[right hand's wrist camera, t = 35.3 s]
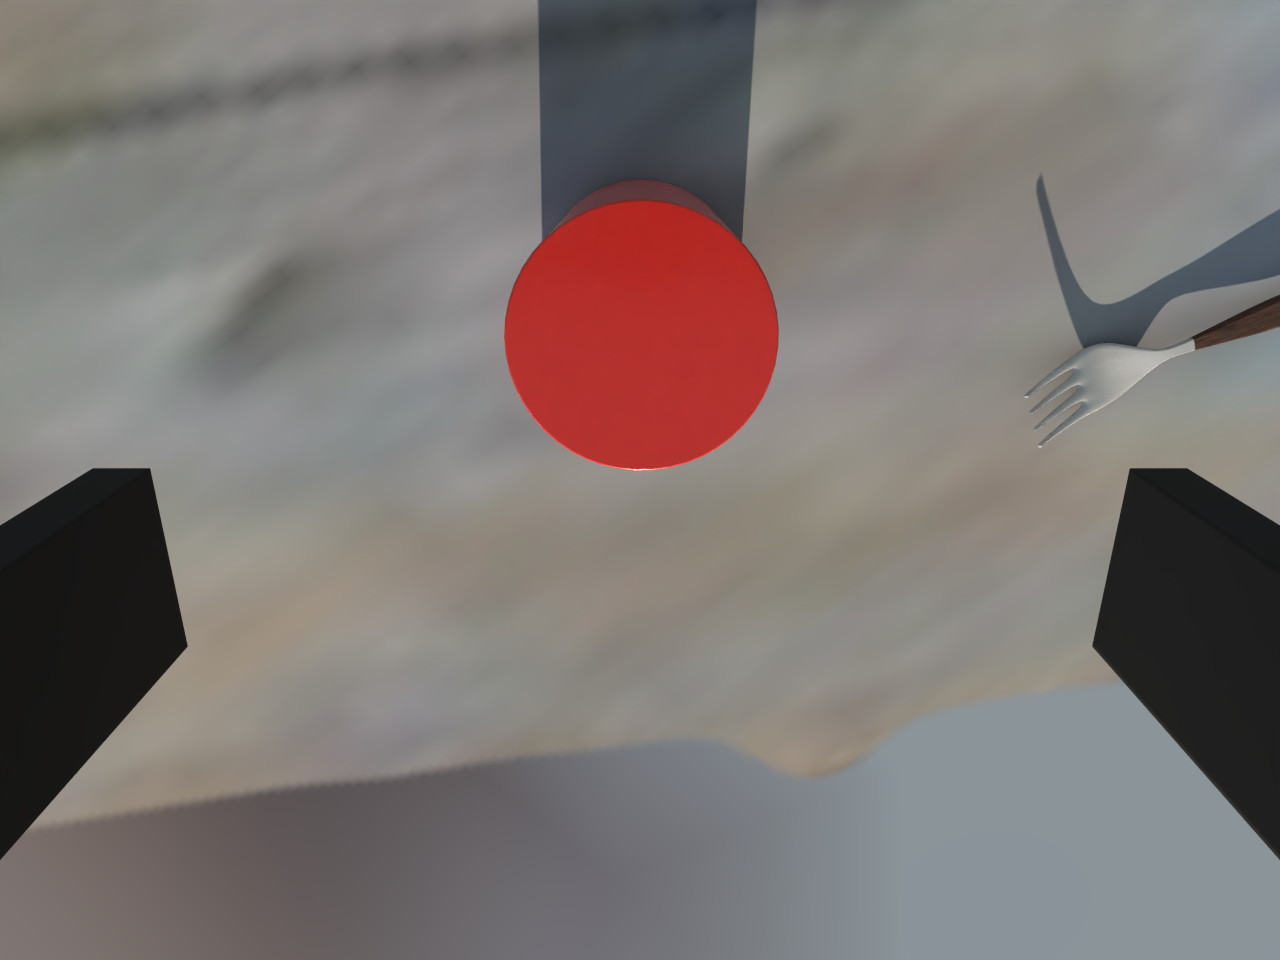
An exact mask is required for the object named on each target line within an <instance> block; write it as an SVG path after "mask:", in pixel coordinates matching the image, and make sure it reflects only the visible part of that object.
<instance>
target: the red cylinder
mask: <svg viewBox="0 0 1280 960" xmlns="http://www.w3.org/2000/svg"><path fill="white" fill-rule="evenodd" d="M778 333H779V329H778V319H777V311H776V307H775V302H774V298H773V294H772V292H771V289H770V287H769V284H768V281H767V279H766V277H765V275H764V273H763V271H762V269H761V268H760V266H759V264H758V262H757V261H756V259H755V258H754V257H753V255H752V254H751V253H750V251H749V250H748V249H747V247H746V246H745V245H744V244H743V243H742V242H741V241H740V240H739V239H738V237H737V236H736V235H735V234H734V233H733V232H732V231H731V230H730V229H729V228H728V227H727V225H726V224H725V223H724V222H723V221H722V220H721V219H720V218H719V217H718V216H717V215H716V214H715V212H714V211H713V210H712V209H711V208H710V207H709V206H708V205H707V204H705V203H704V202H703V201H702V200H700V199H699V198H698V197H696V196H695V195H693V194H691V193H690V192H688V191H686V190H685V189H682V188H680V187H677V186H675V185H672V184H669V183H665V182H661V181H656V180H646V179H640V180H627V181H621V182H617V183H613V184H610V185H607V186H604V187H602V188H600V189H598V190H596V191H594V192H592V193H591V194H589V195H588V196H586V197H585V198H583V199H582V200H580V201H579V202H578V203H577V204H576V205H575V206H574V207H572V208H571V210H570V211H569V212H568V213H567V214H566V215H565V216H564V217H563V219H562V220H561V221H560V222H559V223H558V224H557V225H556V226H555V228H554V229H553V230H552V231H551V232H550V233H549V234H548V235H547V237H546V238H545V239H544V240H543V241H542V242H541V243H540V244H539V246H538V247H537V248H536V249H535V250H534V251H533V252H532V254H531V255H530V257H529V258H528V260H527V261H526V263H525V264H524V266H523V267H522V269H521V271H520V273H519V275H518V277H517V279H516V282H515V284H514V286H513V289H512V292H511V295H510V298H509V302H508V307H507V312H506V318H505V334H504V339H505V351H506V358H507V362H508V367H509V372H510V375H511V377H512V380H513V383H514V386H515V388H516V390H517V392H518V394H519V396H520V398H521V400H522V402H523V404H524V405H525V407H526V408H527V410H528V411H529V413H530V414H531V416H532V417H533V418H534V419H535V421H536V422H537V423H538V424H539V425H540V426H541V427H542V428H543V430H544V431H545V432H547V433H548V434H549V435H550V436H551V437H552V438H553V439H555V440H556V441H557V442H558V443H560V444H561V445H563V446H564V447H566V448H567V449H569V450H570V451H572V452H574V453H576V454H578V455H580V456H582V457H584V458H586V459H588V460H591V461H593V462H596V463H599V464H602V465H605V466H610V467H614V468H619V469H628V470H656V469H663V468H669V467H673V466H677V465H681V464H684V463H687V462H690V461H692V460H695V459H697V458H699V457H702V456H704V455H705V454H707V453H709V452H711V451H712V450H714V449H716V448H718V447H719V446H720V445H722V444H723V443H724V442H726V441H727V440H728V439H730V438H731V437H732V436H733V435H734V434H735V433H736V432H737V431H738V430H739V429H740V428H741V427H742V426H743V425H744V424H745V423H746V422H747V420H748V419H749V418H750V417H751V415H752V414H753V413H754V411H755V410H756V408H757V407H758V405H759V403H760V402H761V400H762V398H763V397H764V394H765V392H766V390H767V388H768V385H769V383H770V381H771V377H772V374H773V371H774V367H775V363H776V357H777V351H778Z"/></svg>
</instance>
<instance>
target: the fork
mask: <svg viewBox="0 0 1280 960" xmlns="http://www.w3.org/2000/svg"><path fill="white" fill-rule="evenodd" d="M1278 327H1280V295H1278V296H1276V297H1273V298H1271V299H1269V300H1267V301H1264V302H1262V303H1260V304H1258V305H1256V306H1254V307H1251V308H1249V309H1247V310H1245V311H1243V312H1241V313H1239V314H1237V315H1235V316H1233V317H1231V318H1229V319H1227V320H1225V321H1223V322H1221V323H1219V324H1217V325H1215V326H1213V327H1211V328H1209V329H1207V330H1205V331H1203V332H1201V333H1199V334H1197V335H1195V336H1193V337H1191V338H1189V339H1187V340H1185V341H1182V342H1180V343H1178V344H1176V345H1173V346H1171V347H1167V348H1163V349H1146V348H1140V347H1134V346H1129V345H1123V344H1115V343H1101V344H1095V345H1092V346H1089V347H1087V348H1085V349H1083V350H1081V351H1079V352H1078V353H1076V354H1075V355H1074V356H1072V357H1071V358H1070V359H1068V360H1067V361H1065V362H1064V363H1063V364H1061V365H1060V366H1059V367H1057V368H1056V369H1055V370H1054V371H1052V372H1051V373H1050V374H1049V375H1047V376H1046V377H1045V378H1044V379H1043V380H1041V381H1040V382H1039V383H1038V384H1037V385H1036V386H1034V387H1033V388H1032V389H1031V390H1030V391H1029V392H1027V393H1026V394H1025V395H1024V397H1025V398H1027V397H1029V396H1030V395H1031V394H1032V393H1034V392H1035V391H1037V390H1038V389H1040V388H1041V387H1043V386H1044V385H1046V384H1047V383H1049V382H1050V381H1052V380H1053V379H1055V378H1056V377H1058V376H1060V375H1061V374H1063V373H1064V372H1066V371H1068V370H1073V374H1072V375H1071V376H1070V377H1069V378H1068V379H1067V380H1066V381H1065V382H1064V383H1062V384H1061V385H1060V386H1059V387H1057V388H1056V389H1055V390H1054V391H1052V392H1051V393H1050V394H1049V395H1048V396H1047V397H1045V398H1044V399H1043V400H1042V401H1041V402H1040V403H1038V404H1037V405H1036V406H1035V407H1034V408H1033V409H1032V410H1031V411H1030V412H1029V414H1032V413H1034V412H1035V411H1037V410H1038V409H1039V408H1041V407H1042V406H1044V405H1045V404H1046V403H1048V402H1049V401H1051V400H1052V399H1054V398H1055V397H1057V396H1058V395H1060V394H1062V393H1063V392H1065V391H1066V390H1068V389H1070V388H1071V387H1074V386H1077V390H1076V392H1075V393H1074V394H1073V395H1072V396H1071V397H1069V398H1068V399H1067V400H1066V401H1064V402H1063V403H1062V404H1061V405H1060V406H1058V407H1057V408H1056V409H1055V410H1054V411H1052V412H1051V413H1050V414H1049V415H1048V416H1047V417H1046V418H1044V419H1043V420H1042V421H1041V422H1040V423H1039V424H1038V425H1037V426H1036V427H1035V428H1034V429H1033V430H1038V429H1039V428H1040V427H1042V426H1043V425H1044V424H1046V423H1047V422H1049V421H1050V420H1051V419H1053V418H1054V417H1056V416H1057V415H1059V414H1060V413H1062V412H1063V411H1065V410H1066V409H1068V408H1069V407H1071V406H1072V405H1074V404H1076V403H1079V402H1081V407H1080V408H1079V409H1078V410H1077V411H1076V412H1075V413H1074V414H1072V415H1071V416H1070V417H1069V418H1068V419H1066V420H1065V421H1064V422H1063V423H1062V424H1060V425H1059V426H1058V427H1057V428H1056V429H1055V430H1054V431H1052V432H1051V433H1050V434H1049V435H1048V436H1047V437H1046V438H1045V439H1044V440H1042V441H1041V442H1040V443H1039V444H1038V447H1042V446H1043V445H1044V444H1045V443H1046V442H1048V441H1049V440H1050V439H1052V438H1053V437H1055V436H1056V435H1057V434H1059V433H1060V432H1062V431H1063V430H1065V429H1066V428H1067V427H1069V426H1070V425H1072V424H1073V423H1075V422H1076V421H1078V420H1080V419H1081V418H1083V417H1085V416H1087V415H1089V414H1091V413H1093V412H1094V411H1096V410H1098V409H1100V408H1102V407H1104V406H1106V405H1107V404H1109V403H1110V402H1112V401H1113V400H1115V399H1116V398H1118V397H1119V396H1120V395H1122V394H1123V393H1124V392H1125V391H1127V390H1128V389H1129V388H1130V387H1132V386H1133V385H1134V384H1135V383H1136V382H1137V381H1139V380H1140V379H1141V378H1142V377H1143V376H1145V375H1146V374H1147V373H1148V372H1149V371H1151V370H1152V369H1153V368H1155V367H1156V366H1157V365H1159V364H1160V363H1162V362H1164V361H1166V360H1168V359H1170V358H1172V357H1174V356H1177V355H1180V354H1183V353H1187V352H1190V351H1194V350H1197V349H1201V348H1205V347H1209V346H1212V345H1216V344H1220V343H1224V342H1228V341H1232V340H1235V339H1239V338H1243V337H1247V336H1250V335H1254V334H1258V333H1261V332H1265V331H1268V330H1272V329H1275V328H1278Z"/></svg>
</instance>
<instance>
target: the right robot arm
mask: <svg viewBox="0 0 1280 960" xmlns="http://www.w3.org/2000/svg"><path fill="white" fill-rule="evenodd" d="M187 647H188V646H187V641H186V636H185V631H184V627H183V622H182V617H181V612H180V608H179V603H178V598H177V594H176V589H175V584H174V579H173V575H172V570H171V565H170V560H169V556H168V551H167V546H166V542H165V537H164V532H163V527H162V523H161V518H160V513H159V508H158V504H157V499H156V494H155V490H154V485H153V480H152V475H151V471H150V468H93V469H91V470H90V471H88V472H86V473H85V474H83V475H81V476H80V477H78V478H77V479H75V480H73V481H72V482H70V483H68V484H67V485H65V486H64V487H62V488H60V489H59V490H57V491H55V492H54V493H52V494H51V495H49V496H47V497H46V498H44V499H42V500H41V501H39V502H38V503H36V504H34V505H33V506H31V507H29V508H28V509H26V510H25V511H23V512H21V513H20V514H18V515H16V516H15V517H13V518H12V519H10V520H8V521H7V522H5V523H3V524H2V525H0V860H1V858H2V857H3V856H4V855H5V854H6V853H7V852H8V850H9V849H10V848H11V847H12V846H13V845H14V844H15V842H16V841H17V840H18V839H19V838H20V837H21V836H22V834H23V833H24V832H25V831H26V830H27V829H28V828H29V827H30V825H31V824H32V823H33V822H34V821H35V820H36V819H37V817H38V816H39V815H40V814H41V813H42V812H43V811H44V809H45V808H46V807H47V806H48V805H49V804H50V803H51V801H52V800H53V799H54V798H55V797H56V796H57V795H58V794H59V792H60V791H61V790H62V789H63V788H64V787H65V786H66V784H67V783H68V782H69V781H70V780H71V779H72V778H73V776H74V775H75V774H76V773H77V772H78V771H79V770H80V768H81V767H82V766H83V765H84V764H85V763H86V762H87V760H88V759H89V758H90V757H91V756H92V755H93V754H94V753H95V751H96V750H97V749H98V748H99V747H100V746H101V745H102V743H103V742H104V741H105V740H106V739H107V738H108V737H109V735H110V734H111V733H112V732H113V731H114V730H115V729H116V727H117V726H118V725H119V724H120V723H121V722H122V721H123V720H124V718H125V717H126V716H127V715H128V714H129V713H130V712H131V710H132V709H133V708H134V707H135V706H136V705H137V704H138V702H139V701H140V700H141V699H142V698H143V697H144V696H145V694H146V693H147V692H148V691H149V690H150V689H151V688H152V686H153V685H154V684H155V683H156V682H157V681H158V680H159V679H160V677H161V676H162V675H163V674H164V673H165V672H166V671H167V669H168V668H169V667H170V666H171V665H172V664H173V663H174V661H175V660H176V659H177V658H178V657H179V656H180V655H181V653H182V652H183V651H184V650H185V649H186V648H187ZM1092 647H1093V648H1094V649H1095V650H1096V651H1097V652H1098V653H1099V655H1100V656H1101V657H1102V658H1103V659H1104V660H1105V661H1106V663H1107V664H1108V665H1109V666H1110V667H1111V668H1112V669H1113V671H1114V672H1115V673H1116V674H1117V675H1118V676H1119V677H1120V679H1121V680H1122V681H1123V682H1124V683H1125V684H1126V685H1127V686H1128V688H1129V689H1130V690H1131V691H1132V692H1133V693H1134V694H1135V696H1136V697H1137V698H1138V699H1139V700H1140V701H1141V702H1142V704H1143V705H1144V706H1145V707H1146V708H1147V709H1148V710H1149V712H1150V713H1151V714H1152V715H1153V716H1154V717H1155V718H1156V719H1157V721H1158V722H1159V723H1160V724H1161V725H1162V726H1163V727H1164V729H1165V730H1166V731H1167V732H1168V733H1169V734H1170V735H1171V737H1172V738H1173V739H1174V740H1175V741H1176V742H1177V743H1178V744H1179V746H1180V747H1181V748H1182V749H1183V750H1184V751H1185V753H1186V754H1187V755H1188V756H1189V757H1190V758H1191V759H1192V760H1193V762H1194V763H1195V764H1196V765H1197V766H1198V767H1199V768H1200V770H1201V771H1202V772H1203V773H1204V774H1205V775H1206V776H1207V778H1208V779H1209V780H1210V781H1211V782H1212V783H1213V784H1214V785H1215V787H1216V788H1217V789H1218V790H1219V791H1220V792H1221V794H1222V795H1223V796H1224V797H1225V798H1226V799H1227V800H1228V801H1229V803H1230V804H1231V805H1232V806H1233V807H1234V808H1235V809H1236V811H1237V812H1238V813H1239V814H1240V815H1241V816H1242V817H1243V819H1244V820H1245V821H1246V822H1247V823H1248V824H1249V825H1250V826H1251V828H1252V829H1253V830H1254V831H1255V832H1256V833H1257V834H1258V836H1259V837H1260V838H1261V839H1262V840H1263V841H1264V842H1265V844H1266V845H1267V846H1268V847H1269V848H1270V849H1271V850H1272V852H1273V853H1274V854H1275V855H1276V856H1277V857H1278V858H1279V860H1280V525H1278V524H1277V523H1275V522H1273V521H1272V520H1270V519H1268V518H1267V517H1265V516H1264V515H1262V514H1260V513H1259V512H1257V511H1255V510H1254V509H1252V508H1251V507H1249V506H1247V505H1246V504H1244V503H1242V502H1241V501H1239V500H1238V499H1236V498H1234V497H1233V496H1231V495H1229V494H1228V493H1226V492H1225V491H1223V490H1221V489H1220V488H1218V487H1216V486H1215V485H1213V484H1212V483H1210V482H1208V481H1207V480H1205V479H1203V478H1202V477H1200V476H1199V475H1197V474H1195V473H1194V472H1192V471H1190V470H1189V469H1187V468H1130V471H1129V475H1128V480H1127V485H1126V489H1125V494H1124V499H1123V504H1122V508H1121V513H1120V518H1119V523H1118V527H1117V532H1116V537H1115V542H1114V546H1113V551H1112V556H1111V560H1110V565H1109V570H1108V575H1107V579H1106V584H1105V589H1104V594H1103V598H1102V603H1101V608H1100V612H1099V617H1098V622H1097V627H1096V631H1095V636H1094V641H1093V646H1092Z"/></svg>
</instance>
